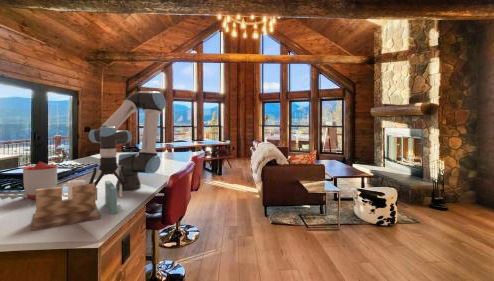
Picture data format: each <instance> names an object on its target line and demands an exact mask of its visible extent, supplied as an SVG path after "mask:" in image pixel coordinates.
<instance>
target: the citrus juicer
mask: <svg viewBox="0 0 494 281" xmlns="http://www.w3.org/2000/svg"><path fill="white" fill-rule="evenodd" d="M22 176H23V188H24V192H25V194H26V197H27V198H28V199H33V200H36V189H44V188H54V187H58V186H57V184H58V165H56V164H55V165H54V164H45V163H44V162H43V161H39V162H37V164H35V165H34V166H32V165H30V166H24V167H23V168H22Z"/></svg>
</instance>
